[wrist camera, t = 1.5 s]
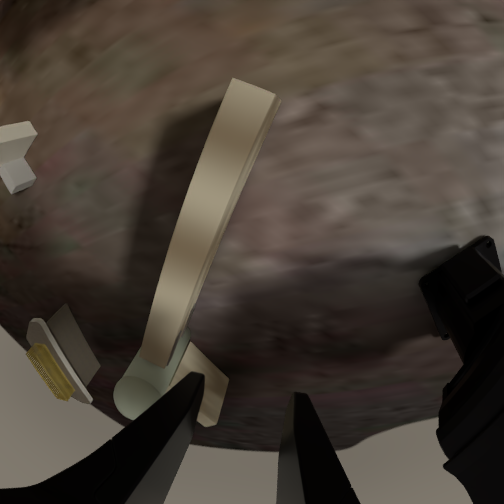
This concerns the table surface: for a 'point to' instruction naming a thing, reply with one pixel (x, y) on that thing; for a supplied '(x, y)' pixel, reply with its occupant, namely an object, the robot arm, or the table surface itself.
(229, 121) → the cream wooden bar
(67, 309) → the platform
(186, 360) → the block
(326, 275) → the table surface
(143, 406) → the hinge post
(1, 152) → the cream l-shaped block
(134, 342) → the table surface
